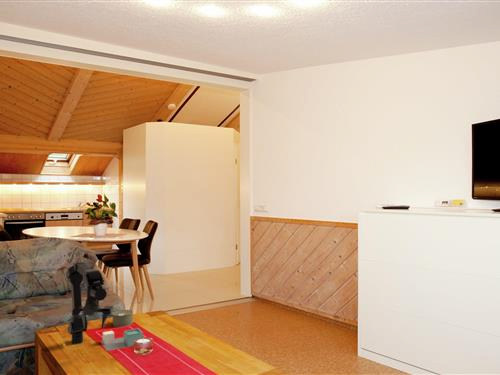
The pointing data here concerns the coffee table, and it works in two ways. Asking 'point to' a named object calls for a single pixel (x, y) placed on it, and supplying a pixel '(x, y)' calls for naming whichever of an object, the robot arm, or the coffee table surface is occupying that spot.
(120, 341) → the plate
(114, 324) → the can
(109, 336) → the off-white block
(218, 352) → the coffee table surface
